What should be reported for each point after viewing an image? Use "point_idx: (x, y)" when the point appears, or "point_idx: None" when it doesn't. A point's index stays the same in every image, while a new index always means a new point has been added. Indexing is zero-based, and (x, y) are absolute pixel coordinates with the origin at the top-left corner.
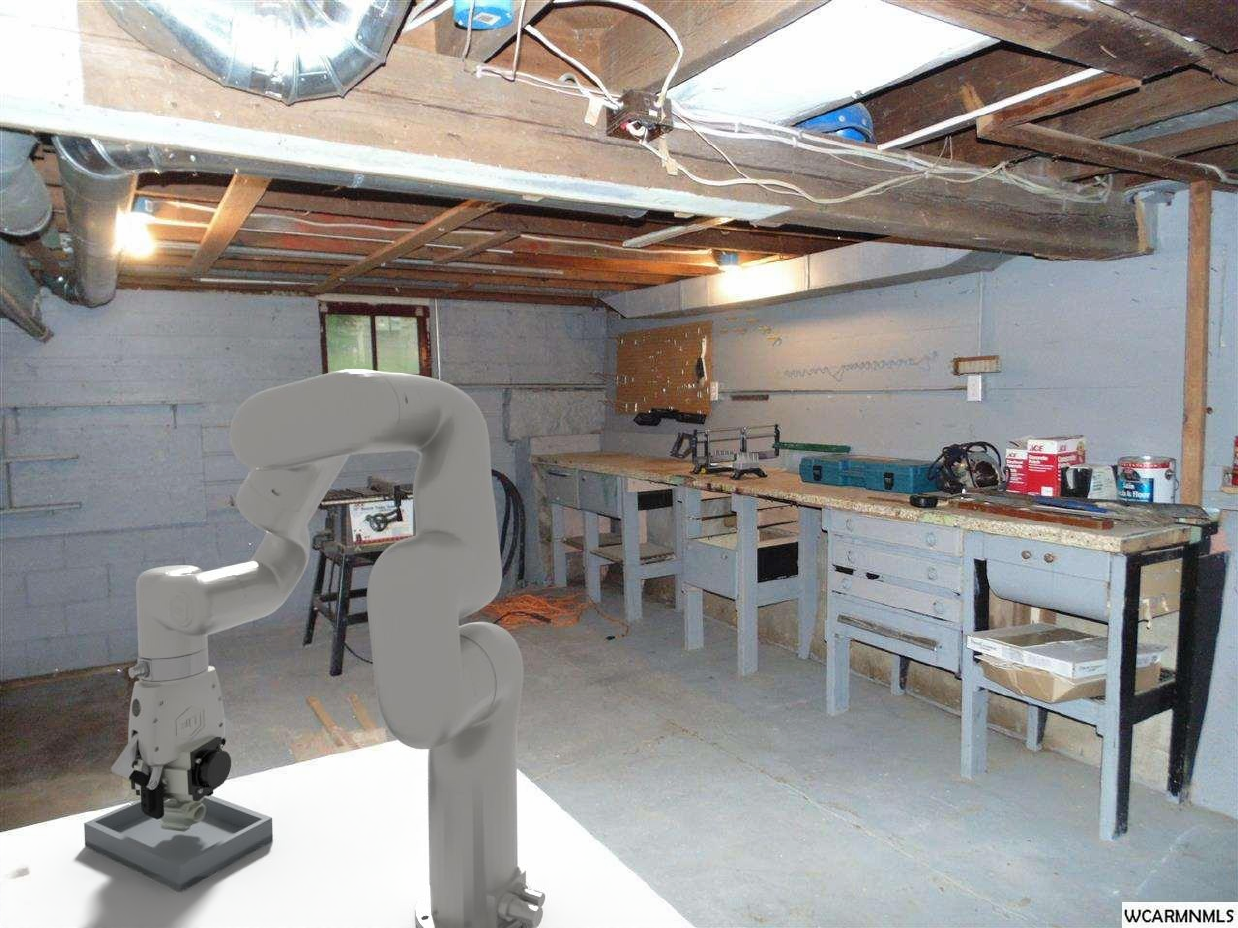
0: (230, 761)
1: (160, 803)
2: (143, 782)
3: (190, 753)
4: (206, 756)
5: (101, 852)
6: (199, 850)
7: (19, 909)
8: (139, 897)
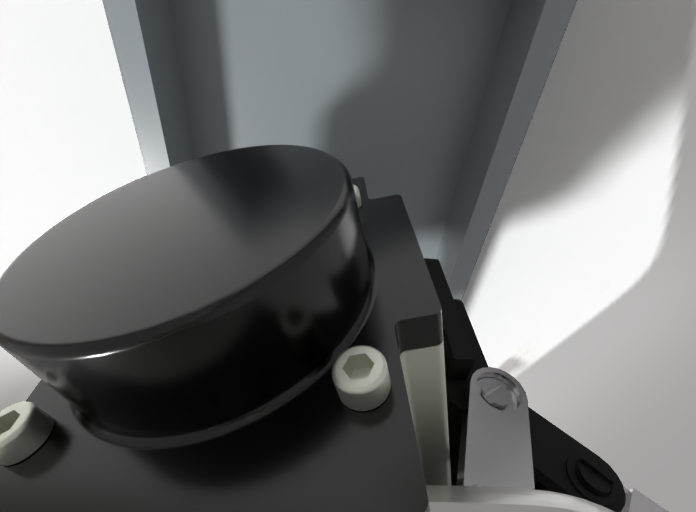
0: (38, 241)
1: (442, 296)
2: (533, 424)
3: None
4: (252, 383)
5: None
6: (354, 96)
7: (627, 279)
8: (583, 64)
